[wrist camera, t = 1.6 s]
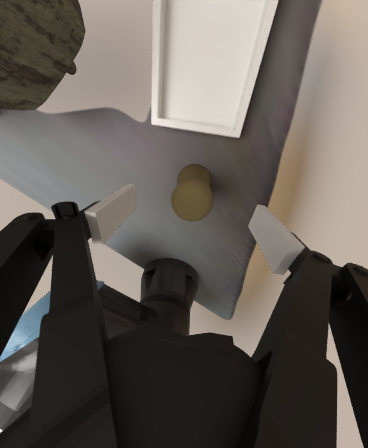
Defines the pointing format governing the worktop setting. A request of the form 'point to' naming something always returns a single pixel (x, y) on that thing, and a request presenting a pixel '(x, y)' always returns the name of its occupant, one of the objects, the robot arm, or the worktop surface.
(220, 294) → the worktop surface
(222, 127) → the tray
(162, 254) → the worktop surface
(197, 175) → the olive rounded piece
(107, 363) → the robot arm
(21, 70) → the tabletop clock
